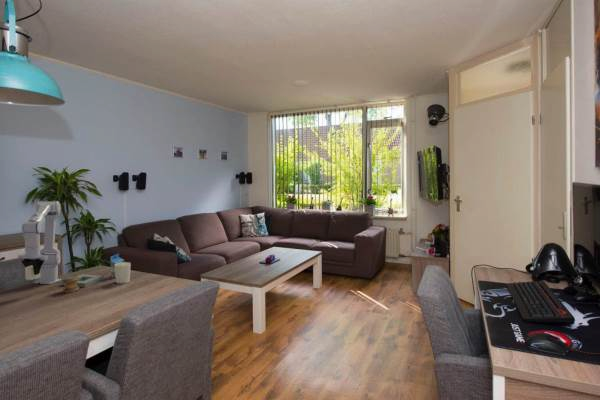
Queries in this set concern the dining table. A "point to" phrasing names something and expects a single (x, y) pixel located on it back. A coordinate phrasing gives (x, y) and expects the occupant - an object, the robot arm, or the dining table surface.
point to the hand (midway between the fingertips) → (33, 274)
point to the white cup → (122, 272)
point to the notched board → (87, 280)
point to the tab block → (30, 273)
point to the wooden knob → (70, 284)
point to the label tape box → (115, 261)
